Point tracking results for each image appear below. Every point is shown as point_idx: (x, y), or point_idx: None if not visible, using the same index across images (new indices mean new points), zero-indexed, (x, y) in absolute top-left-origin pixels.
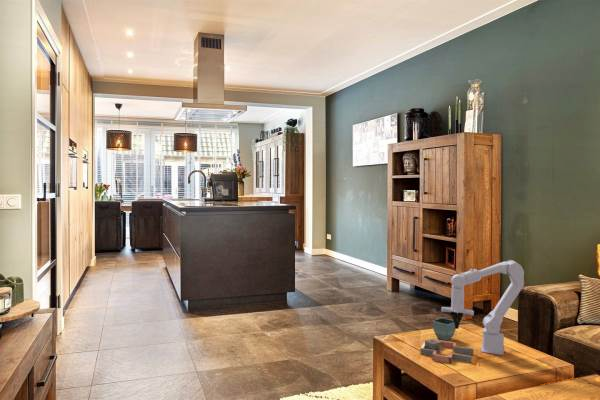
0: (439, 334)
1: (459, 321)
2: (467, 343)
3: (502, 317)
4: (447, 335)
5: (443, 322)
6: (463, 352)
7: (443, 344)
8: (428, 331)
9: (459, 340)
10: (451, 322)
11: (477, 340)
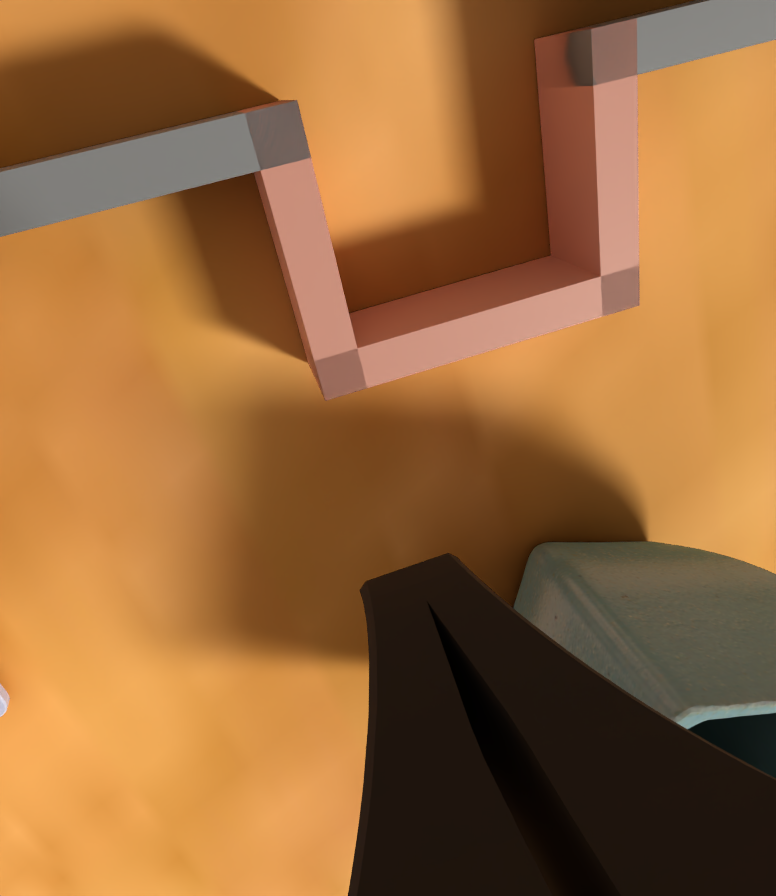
0: (670, 558)
1: (379, 851)
2: (253, 659)
3: None
4: (557, 573)
5: None
6: (54, 155)
7: (524, 275)
8: None
9: None
10: None
11: (200, 827)
